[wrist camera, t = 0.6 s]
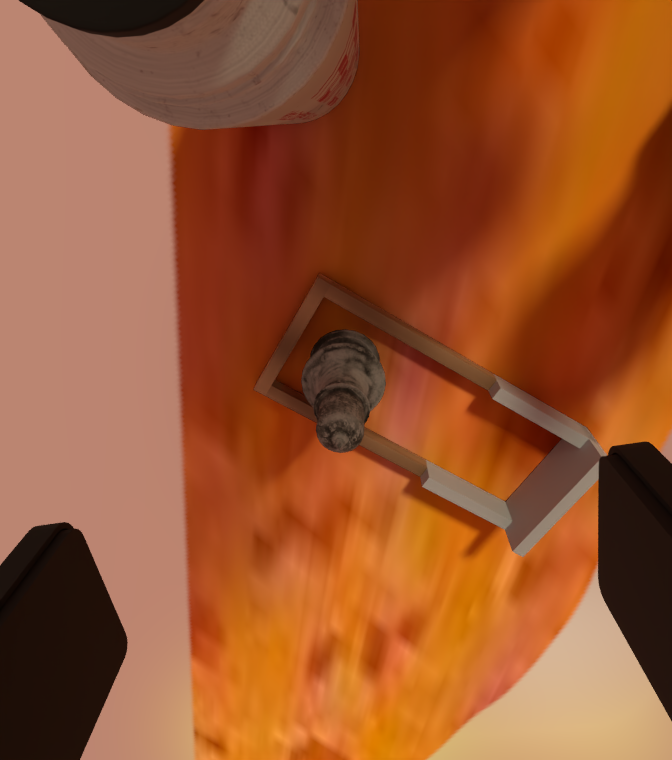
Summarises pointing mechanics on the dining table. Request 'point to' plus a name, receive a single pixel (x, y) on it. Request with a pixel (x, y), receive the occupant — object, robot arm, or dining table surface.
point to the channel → (383, 322)
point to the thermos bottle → (214, 56)
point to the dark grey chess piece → (343, 387)
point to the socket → (542, 487)
